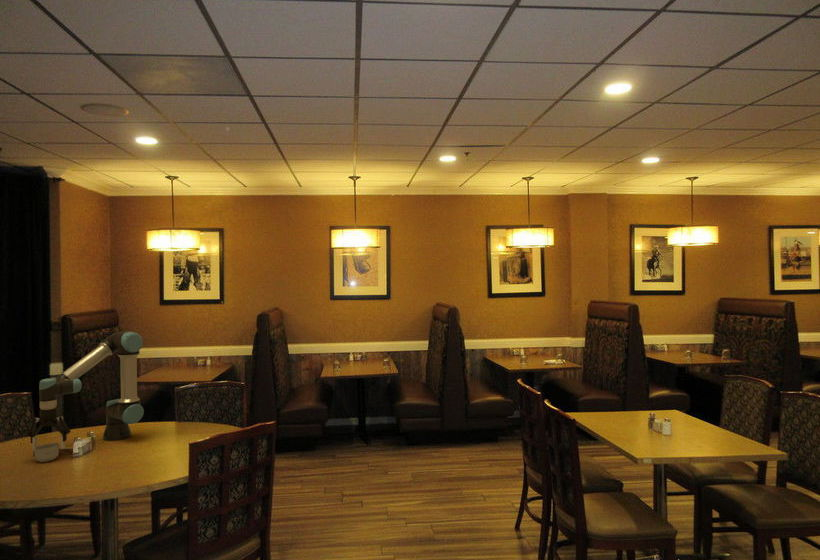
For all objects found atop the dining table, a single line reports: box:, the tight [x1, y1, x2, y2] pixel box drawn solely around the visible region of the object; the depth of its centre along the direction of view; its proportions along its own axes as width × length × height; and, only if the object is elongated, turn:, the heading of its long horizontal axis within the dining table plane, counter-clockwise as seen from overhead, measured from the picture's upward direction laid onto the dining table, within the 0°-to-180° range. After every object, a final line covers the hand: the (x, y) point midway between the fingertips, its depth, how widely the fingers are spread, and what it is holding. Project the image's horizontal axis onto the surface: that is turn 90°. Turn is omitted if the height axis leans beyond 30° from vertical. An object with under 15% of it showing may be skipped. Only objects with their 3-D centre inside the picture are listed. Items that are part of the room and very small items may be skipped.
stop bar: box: [32, 446, 74, 457], centre depth 293 cm, size 22×3×3 cm, turn 99°
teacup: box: [34, 441, 60, 463], centre depth 284 cm, size 14×11×8 cm
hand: (48, 448), depth 284 cm, fingers open, 13 cm apart
